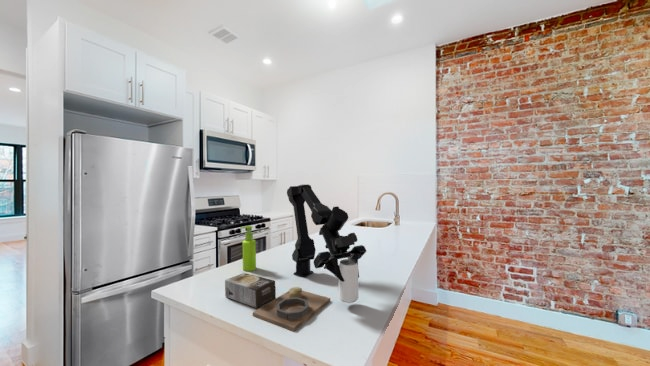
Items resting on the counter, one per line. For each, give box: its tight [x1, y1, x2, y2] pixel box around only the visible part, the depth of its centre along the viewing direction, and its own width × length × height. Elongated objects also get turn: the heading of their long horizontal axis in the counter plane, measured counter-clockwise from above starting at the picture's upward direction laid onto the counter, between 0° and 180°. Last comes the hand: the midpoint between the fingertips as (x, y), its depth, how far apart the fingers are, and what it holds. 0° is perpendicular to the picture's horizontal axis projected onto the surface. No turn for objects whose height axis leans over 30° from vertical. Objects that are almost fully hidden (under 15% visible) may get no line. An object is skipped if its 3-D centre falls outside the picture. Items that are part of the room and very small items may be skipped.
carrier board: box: [252, 286, 331, 332], centre depth 82 cm, size 20×16×3 cm
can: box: [338, 258, 359, 304], centre depth 83 cm, size 6×6×12 cm
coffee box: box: [224, 272, 277, 309], centre depth 90 cm, size 9×6×16 cm
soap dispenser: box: [239, 225, 257, 272], centre depth 119 cm, size 6×7×20 cm
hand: (351, 279), depth 82 cm, fingers closed on can, 5 cm apart
